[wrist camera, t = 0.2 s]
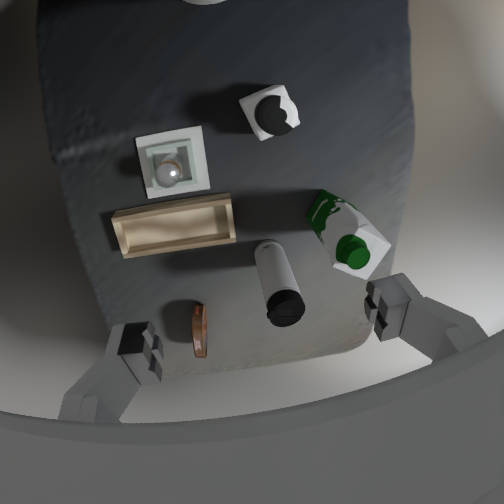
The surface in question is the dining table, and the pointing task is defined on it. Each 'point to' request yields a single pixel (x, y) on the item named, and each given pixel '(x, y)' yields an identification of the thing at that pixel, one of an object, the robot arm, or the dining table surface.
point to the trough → (175, 225)
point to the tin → (199, 331)
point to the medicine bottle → (270, 112)
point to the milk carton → (347, 235)
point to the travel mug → (278, 284)
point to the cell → (169, 170)
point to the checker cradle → (179, 142)
